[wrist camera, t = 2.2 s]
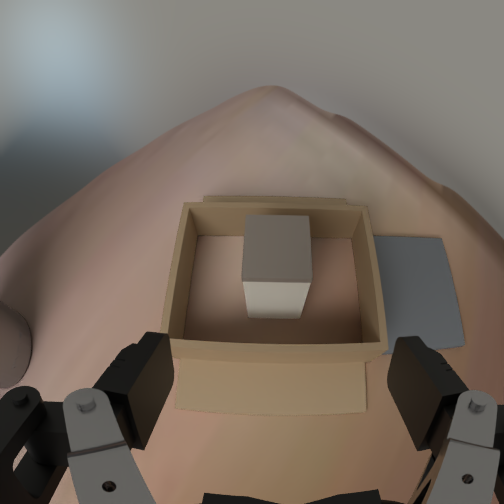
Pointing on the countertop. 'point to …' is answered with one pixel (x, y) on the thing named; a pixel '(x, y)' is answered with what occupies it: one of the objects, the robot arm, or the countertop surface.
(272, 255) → the tea box
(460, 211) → the countertop surface
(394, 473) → the countertop surface
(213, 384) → the carton
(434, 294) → the slate mat
